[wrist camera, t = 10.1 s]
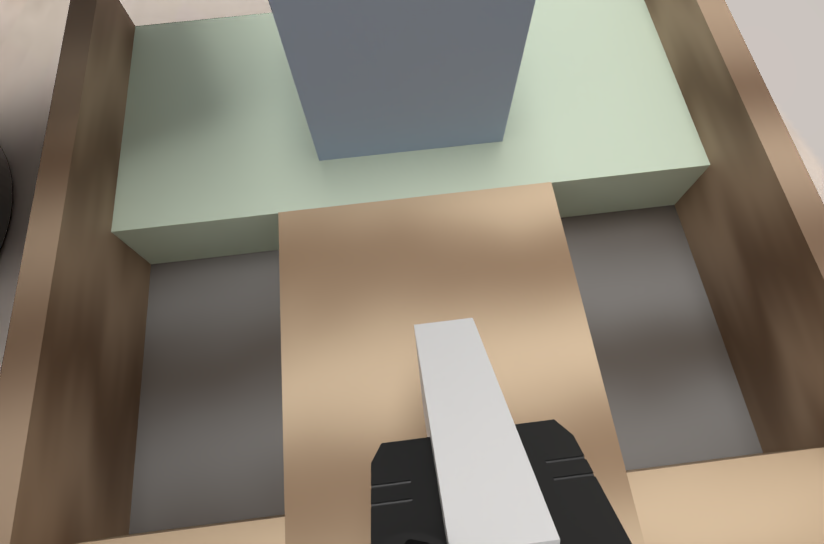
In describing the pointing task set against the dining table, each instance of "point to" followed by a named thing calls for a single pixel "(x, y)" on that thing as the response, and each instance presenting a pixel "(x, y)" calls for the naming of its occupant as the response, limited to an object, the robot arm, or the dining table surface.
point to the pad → (394, 172)
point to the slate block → (403, 71)
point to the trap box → (395, 336)
